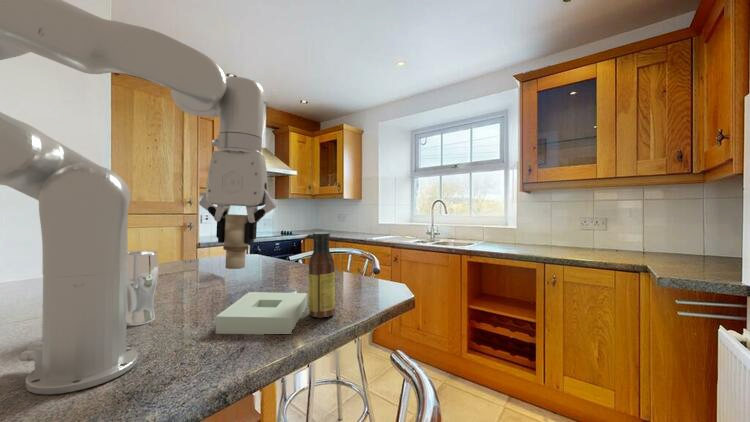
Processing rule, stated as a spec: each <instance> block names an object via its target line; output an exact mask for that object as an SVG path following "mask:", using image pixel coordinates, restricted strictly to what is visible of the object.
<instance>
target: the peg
mask: <svg viewBox="0 0 750 422" xmlns="http://www.w3.org/2000/svg"><path fill="white" fill-rule="evenodd" d="M245 223H248V216H247V214H229V213H228V214H226V215H225V236H224V243H223V250H225V269H228V270H238V269H239V270H240V269H244V268H245V267H246V252H247V251H248V250H249V244H245V243H244V236H245Z"/></svg>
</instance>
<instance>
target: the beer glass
mask: <svg viewBox="0 0 750 422" xmlns="http://www.w3.org/2000/svg"><path fill="white" fill-rule="evenodd" d="M158 279H159V257H158V251H156V250H135V251H133V250H132V251H127V322H126V327H136V326H141V325H146V324H149V323H152V322H153V321H154V320H155V319H156V314H155V310H154V297H155V293H156V289H157V286H158Z"/></svg>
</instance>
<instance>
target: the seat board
mask: <svg viewBox="0 0 750 422" xmlns="http://www.w3.org/2000/svg"><path fill="white" fill-rule="evenodd" d="M306 306H307V307H308V293H307V292H267V291H266V292H264V291H263V292H261V291H249V292H247V293H246V294H244V295H243V296H241V298H239V299H237V300H236V301H235V302H233V303H232V304H231V305H229V306H228V307H227V308H226V309H224V310H223V311H222V312H220V313H219V314H217V315H216V316H215V335H221V334H223V335H264V334H291V335H292V333H293V332H292V330H293V329H294V330H295V328H296V326H297V325H296V323H297V322H298V323H299V321H300V320H299V318H300V317H302V316H303V315H302V313H303V312H304V313H305V311H306V309H307V308H306ZM305 308H306V309H305ZM304 310H305V311H304ZM304 313H303V314H304ZM301 315H302V316H301ZM300 319H301V318H300ZM298 320H299V321H298ZM298 323H297V324H298ZM295 325H296V326H295ZM294 327H295V328H294ZM294 330H293V331H294ZM291 332H292V333H291Z"/></svg>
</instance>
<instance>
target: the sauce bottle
mask: <svg viewBox="0 0 750 422" xmlns="http://www.w3.org/2000/svg"><path fill="white" fill-rule="evenodd" d="M330 235H331V233H330V232H327V231H325V232H324V231H323V232H322V231H321V232H317V231H316V232H313V233H312V240H313V248H312V254H311V256H310V258H309V260H308V310H309V315H310V317H312V316H313V317H312V318H314V317H319V318H318V319H323V318H322V317H328V316H331V315H333V314H334V315H335V311H336V293H335V292H336V289H335V288H336V285H335V284H336V281H335V280H336V276H335V275H336V270H335V260H334V259H333V256H332V254H331V251H330V238H331V236H330ZM334 315H333V316H334ZM331 317H332V316H331ZM328 318H329V317H328Z"/></svg>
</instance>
